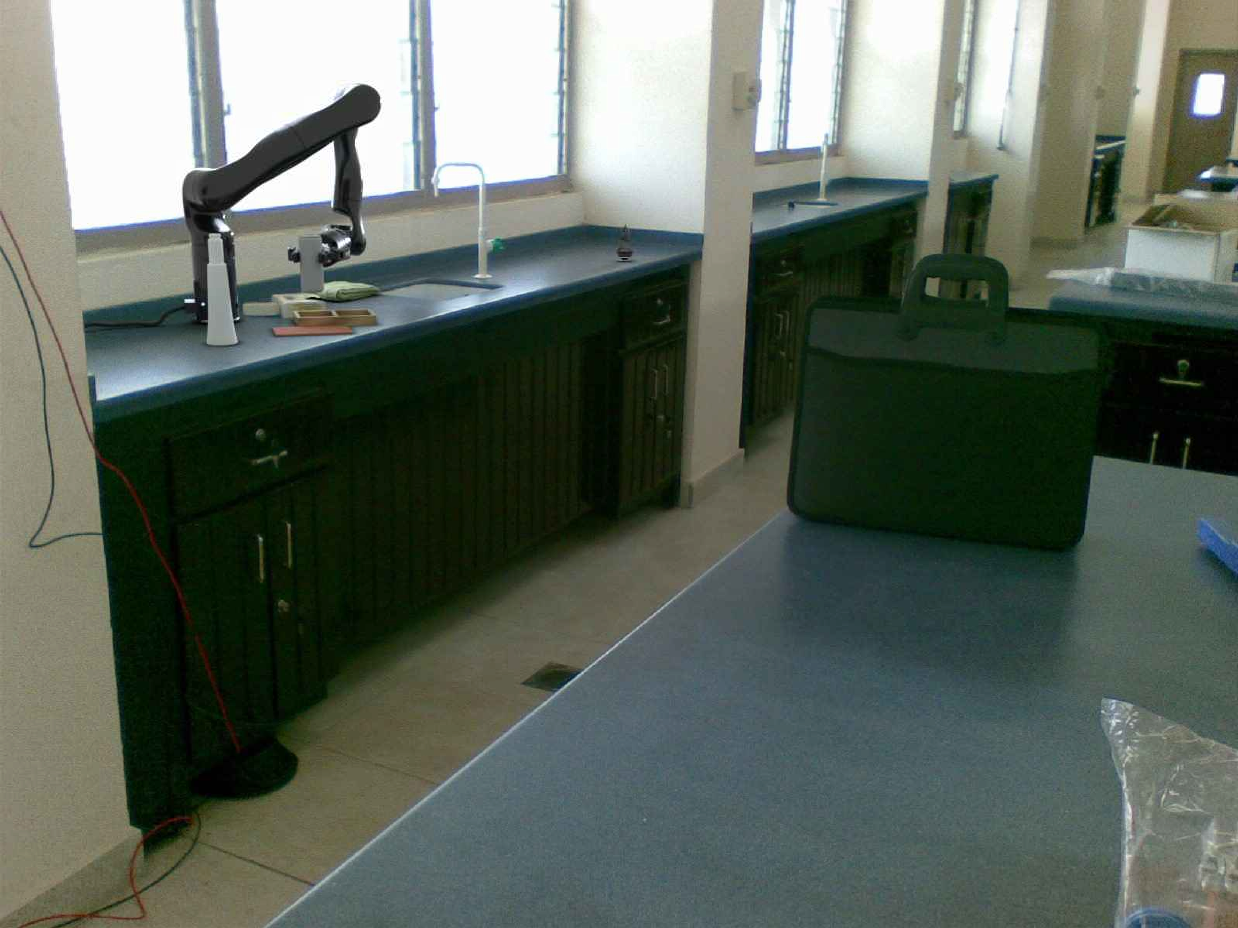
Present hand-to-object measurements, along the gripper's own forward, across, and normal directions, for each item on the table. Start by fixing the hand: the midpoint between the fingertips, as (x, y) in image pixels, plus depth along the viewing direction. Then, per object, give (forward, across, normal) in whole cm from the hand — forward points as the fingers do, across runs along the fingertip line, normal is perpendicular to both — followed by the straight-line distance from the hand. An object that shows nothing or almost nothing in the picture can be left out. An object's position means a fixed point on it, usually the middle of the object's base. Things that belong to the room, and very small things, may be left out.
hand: (307, 258), depth 253 cm
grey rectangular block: (-3, 0, +8) cm, 8 cm away
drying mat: (-2, 0, +16) cm, 16 cm away
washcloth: (-52, -6, +17) cm, 55 cm away
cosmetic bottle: (+14, -15, +16) cm, 26 cm away
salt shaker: (-144, +67, +18) cm, 160 cm away
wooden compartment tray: (-13, +2, +16) cm, 21 cm away
